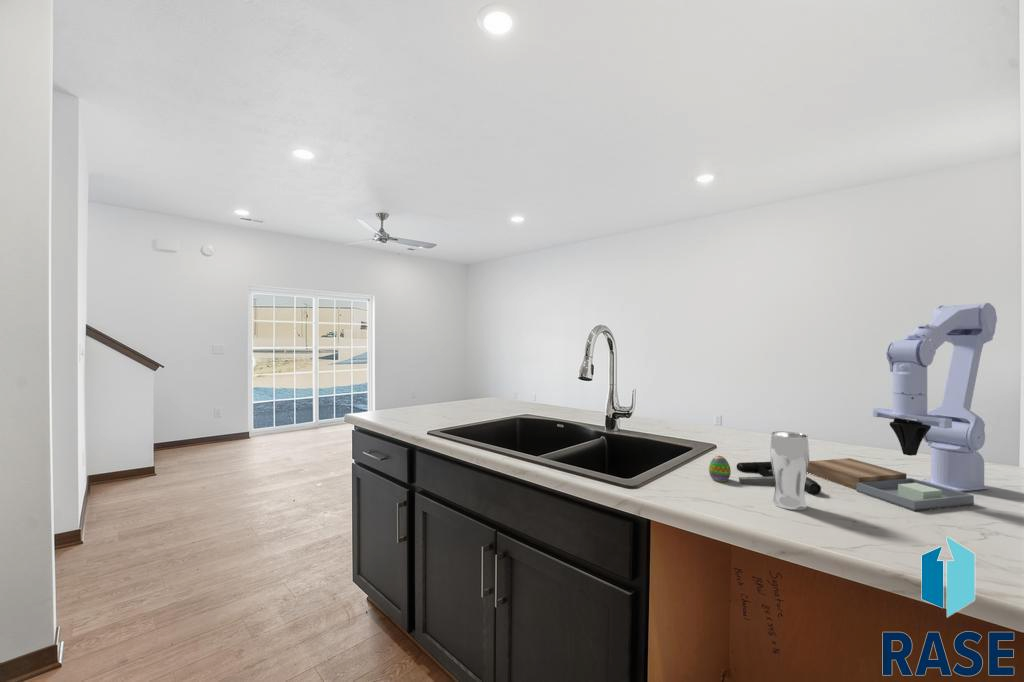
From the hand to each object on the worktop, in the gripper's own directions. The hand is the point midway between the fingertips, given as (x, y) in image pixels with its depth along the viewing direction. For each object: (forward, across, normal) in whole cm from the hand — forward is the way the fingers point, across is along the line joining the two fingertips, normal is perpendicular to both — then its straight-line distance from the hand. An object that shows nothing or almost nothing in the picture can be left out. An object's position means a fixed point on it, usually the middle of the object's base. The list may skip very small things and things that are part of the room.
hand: (909, 454), depth 97 cm
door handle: (+10, -17, -21) cm, 29 cm away
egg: (+10, -20, -33) cm, 40 cm away
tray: (+9, +1, 0) cm, 9 cm away
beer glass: (+10, -2, -30) cm, 32 cm away
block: (+9, +2, 0) cm, 9 cm away
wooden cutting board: (+9, -13, 0) cm, 16 cm away
